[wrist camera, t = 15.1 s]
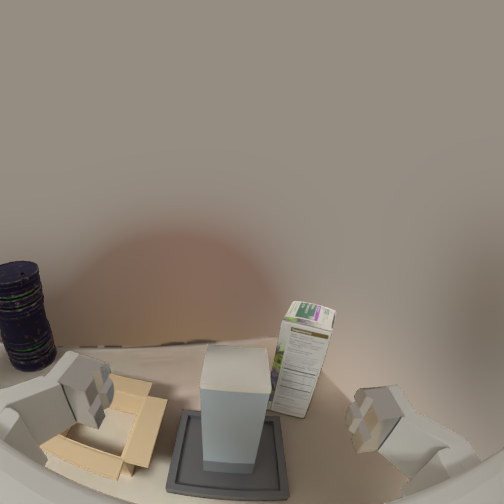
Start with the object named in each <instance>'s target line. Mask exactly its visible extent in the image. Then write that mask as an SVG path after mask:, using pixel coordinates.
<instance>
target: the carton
mask: <svg viewBox="0 0 504 504" xmlns="http://www.w3.org/2000/svg"><path fill="white" fill-rule="evenodd" d="M109 377H110V379H111V380H112V381H113V384H114V397H113V401H112V403H111V405H110V407H108V408H112V409H115V410H119V411H123V412H127V413H131V414H135V415H136V418H135V420H134V423H133V426H132V428H131V431H130V433H129V436H128V439H127V441H126V444H125V447H124V449H123V452H122V455H121V457H120V456H116V455H113V454H110V453H107V452H104V451H101V450H98V449H95V448H92V447H89V446H86V445H84V444H81V443H79V442H76V441H74V440H71V439H69V438H66V435H67V433H68V432H69V430H70V428H71V427H70V428H68V429H67V430H65V431H63V432H62V433H60V434H58V435H57V436H55V437H53V438H52V439H50V440H48V441H47V442H45V443H43V444H42V445H40V446H39V447H40V448H41V449H42V450H44V451H46V452H48V453H50V454H52V455H54V456H56V457H58V458H60V459H62V460H64V461H67V462H69V463H71V464H73V465H76V466H78V467H81V468H83V469H86V470H88V471H91V472H93V473H96V474H99V475H102V476H105V477H108V478H111V479H114V480H117V481H118V478H119V475H120V473H121V474H125V475H128V476H132V474H133V471H134V468H135V465H138V466H142V467H146V468H149V465H150V461H151V457H152V454H153V450H154V447H155V443H156V440H157V436H158V433H159V429H160V426H161V423H162V419H163V416H164V412H165V409H166V406H167V403H168V399H162V398H157V397H151V396H149V393H150V391H151V388H152V386H153V383H152V382H147V381H142V380H137V379H132V378H128V377H123V376H119V375H115V374H111V373H110V374H109Z"/></svg>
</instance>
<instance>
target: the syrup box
mask: <svg viewBox="0 0 504 504" xmlns="http://www.w3.org/2000/svg"><path fill="white" fill-rule="evenodd" d="M335 315H336V311H335V310H333V309H330V308H327V307H324V306H321V305H316V304H312V303H306V302H300V301H293V302H292V304H291V306H290V308H289V310H288V312H287V313H286V315H285V317H284V319H283V320H282V323H281V327H280V333H279V338H278V343H277V348H276V353H275V358H274V363H273V368H272V372H271V377H270V378H271V387H272V389H271V394H270V395H269V400H268V404H267V409H268V410H271V411H275V412H279V413H283V414H287V415H291V416H296V417H300V418H305V415H306V412H307V410H308V407H309V404H310V401H311V399H312V396H313V393H314V390H315V387H316V384H317V381H318V378H319V375H320V372H321V369H322V366H323V362H324V359H325V356H326V353H327V349H328V346H329V342H330V338H331V334H332V330H333V326H334V322H335Z"/></svg>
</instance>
